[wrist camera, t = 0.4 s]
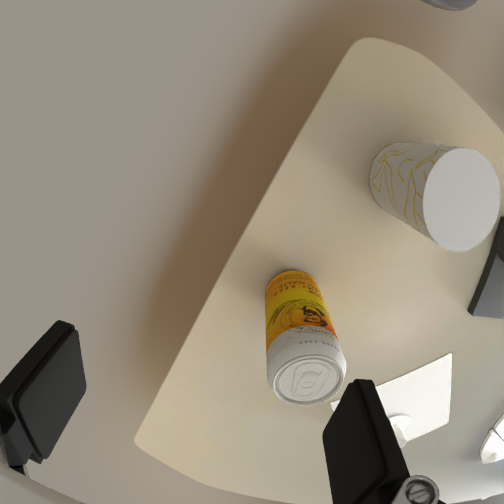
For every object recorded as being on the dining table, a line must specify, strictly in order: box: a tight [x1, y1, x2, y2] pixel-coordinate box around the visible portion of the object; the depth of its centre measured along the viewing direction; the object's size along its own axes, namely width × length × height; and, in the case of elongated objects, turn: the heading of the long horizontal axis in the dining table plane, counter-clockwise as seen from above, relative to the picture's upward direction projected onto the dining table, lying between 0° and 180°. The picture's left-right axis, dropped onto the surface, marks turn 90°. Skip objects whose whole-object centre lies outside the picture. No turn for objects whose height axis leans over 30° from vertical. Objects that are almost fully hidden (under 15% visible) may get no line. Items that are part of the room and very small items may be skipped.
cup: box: [370, 142, 500, 252], centre depth 25 cm, size 8×8×12 cm
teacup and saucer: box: [388, 414, 414, 448], centre depth 42 cm, size 9×8×4 cm
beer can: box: [265, 271, 346, 407], centre depth 28 cm, size 6×6×15 cm
